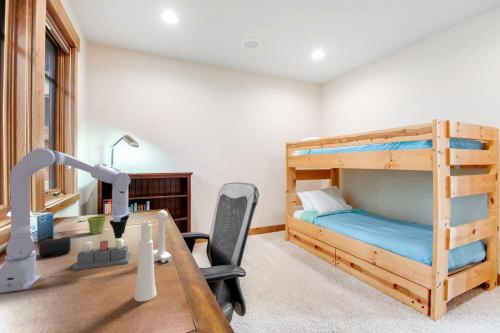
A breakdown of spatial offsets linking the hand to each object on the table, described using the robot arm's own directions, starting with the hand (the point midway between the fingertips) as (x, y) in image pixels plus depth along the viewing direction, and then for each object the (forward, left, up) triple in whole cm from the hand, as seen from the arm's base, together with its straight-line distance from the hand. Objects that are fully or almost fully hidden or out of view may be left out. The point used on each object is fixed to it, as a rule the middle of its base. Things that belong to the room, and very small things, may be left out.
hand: (119, 235), depth 96 cm
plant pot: (+48, +19, -10) cm, 52 cm away
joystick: (-4, -14, -10) cm, 18 cm away
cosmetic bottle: (-32, -11, -10) cm, 35 cm away
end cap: (+16, +27, -10) cm, 33 cm away
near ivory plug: (0, +11, -6) cm, 13 cm away
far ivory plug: (0, 0, -6) cm, 6 cm away
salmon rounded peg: (0, +6, -6) cm, 8 cm away
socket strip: (0, +6, -10) cm, 11 cm away
